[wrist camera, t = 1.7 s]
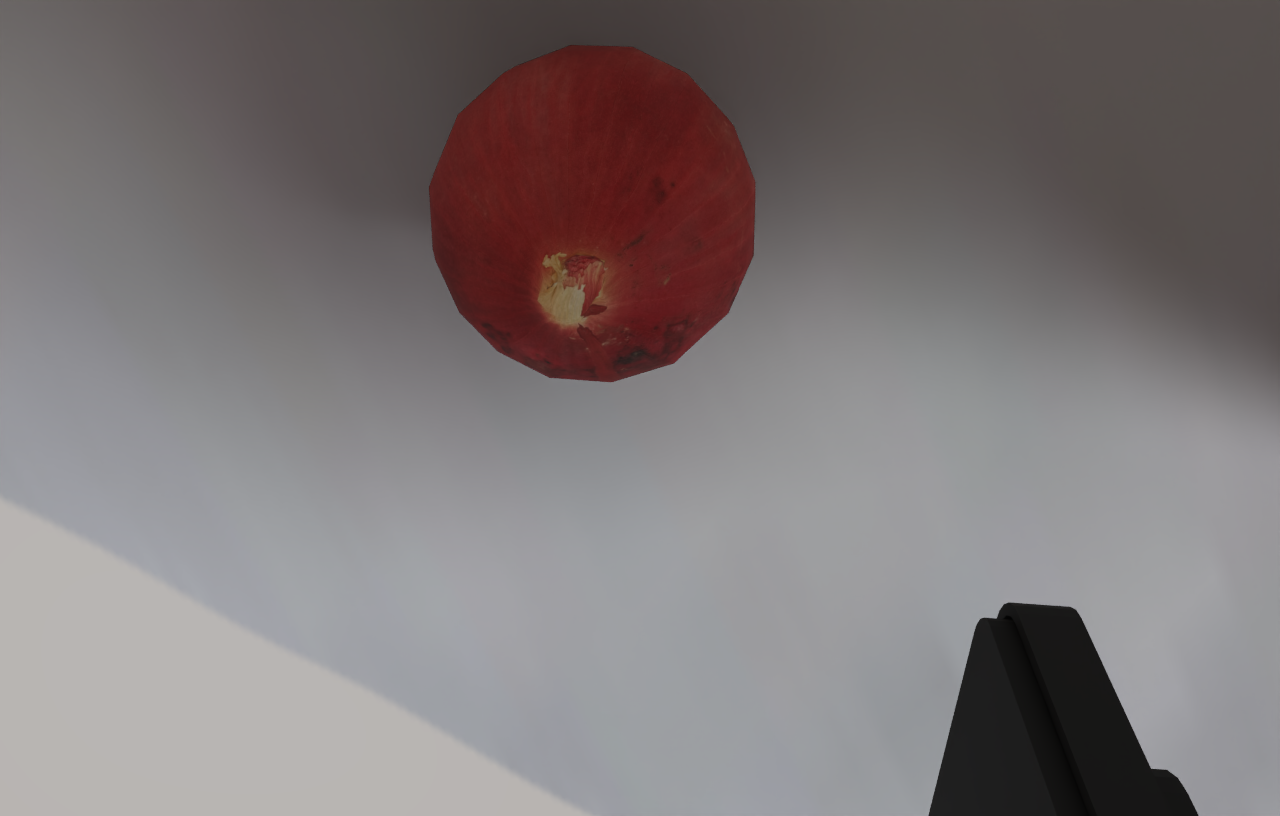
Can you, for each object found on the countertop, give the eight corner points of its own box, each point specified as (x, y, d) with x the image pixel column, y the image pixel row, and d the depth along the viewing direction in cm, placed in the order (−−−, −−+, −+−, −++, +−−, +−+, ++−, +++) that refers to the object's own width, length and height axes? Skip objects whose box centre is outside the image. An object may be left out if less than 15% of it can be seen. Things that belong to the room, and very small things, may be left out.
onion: (786, 238, 26) (816, 422, 19) (535, 321, 27) (475, 523, 20) (694, -34, 23) (688, 59, 16) (422, 70, 24) (308, 200, 17)
